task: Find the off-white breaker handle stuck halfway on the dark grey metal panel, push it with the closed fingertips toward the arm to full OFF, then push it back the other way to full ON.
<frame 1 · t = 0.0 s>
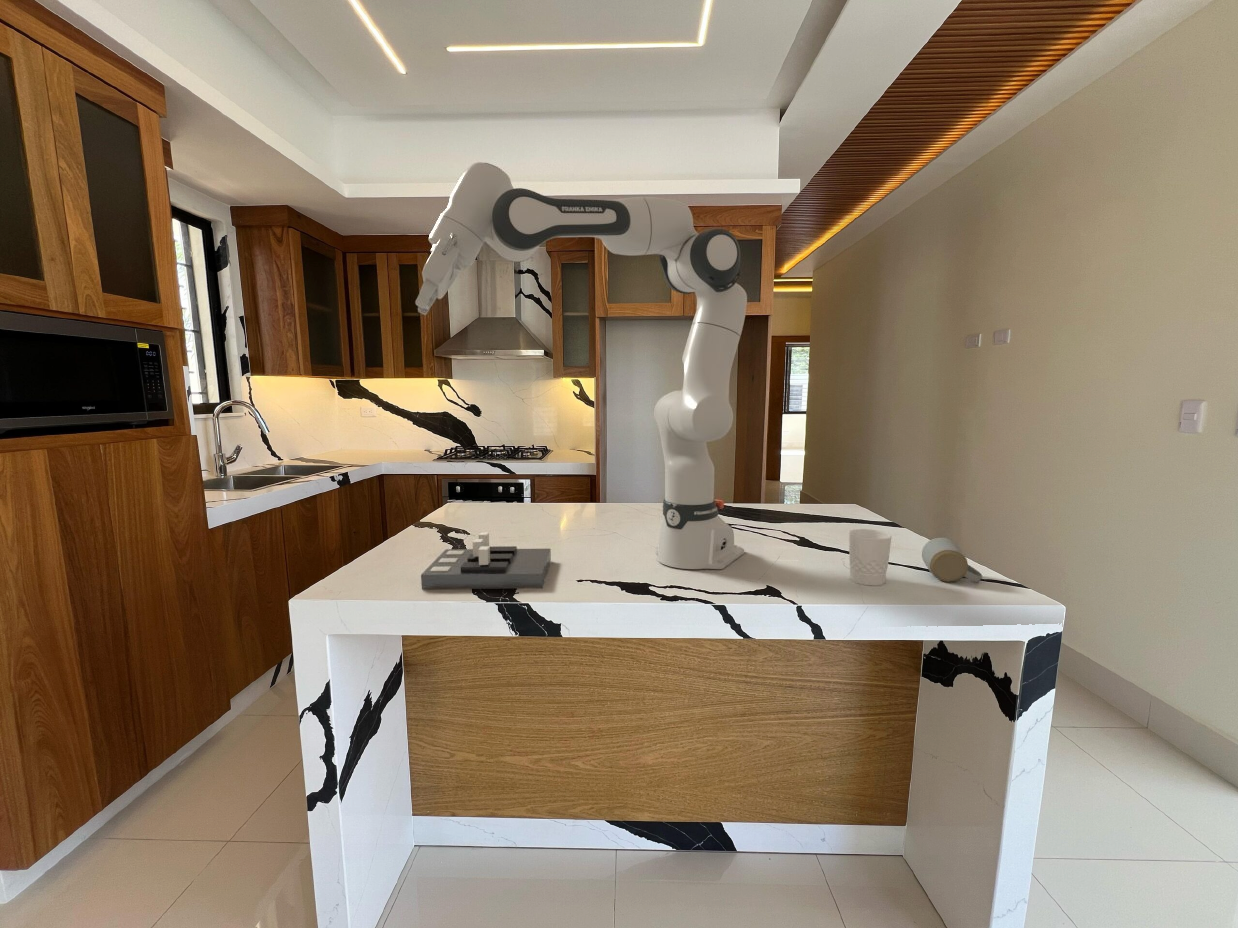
hand: (420, 310, 104), 54 cm above the countertop, tool tilted 30°, fingers open, 8 cm apart
tripped breaker: (484, 555, 113), point 6 cm above the countertop, slide at 0.0 cm
breaker panel: (491, 574, 119), on the countertop
breaker back: (483, 540, 123), point 6 cm above the countertop, slide at 2.5 cm
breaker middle: (478, 547, 118), point 6 cm above the countertop, slide at 2.5 cm
white cup: (867, 581, 115), on the countertop
ceramic mug: (950, 578, 117), on the countertop
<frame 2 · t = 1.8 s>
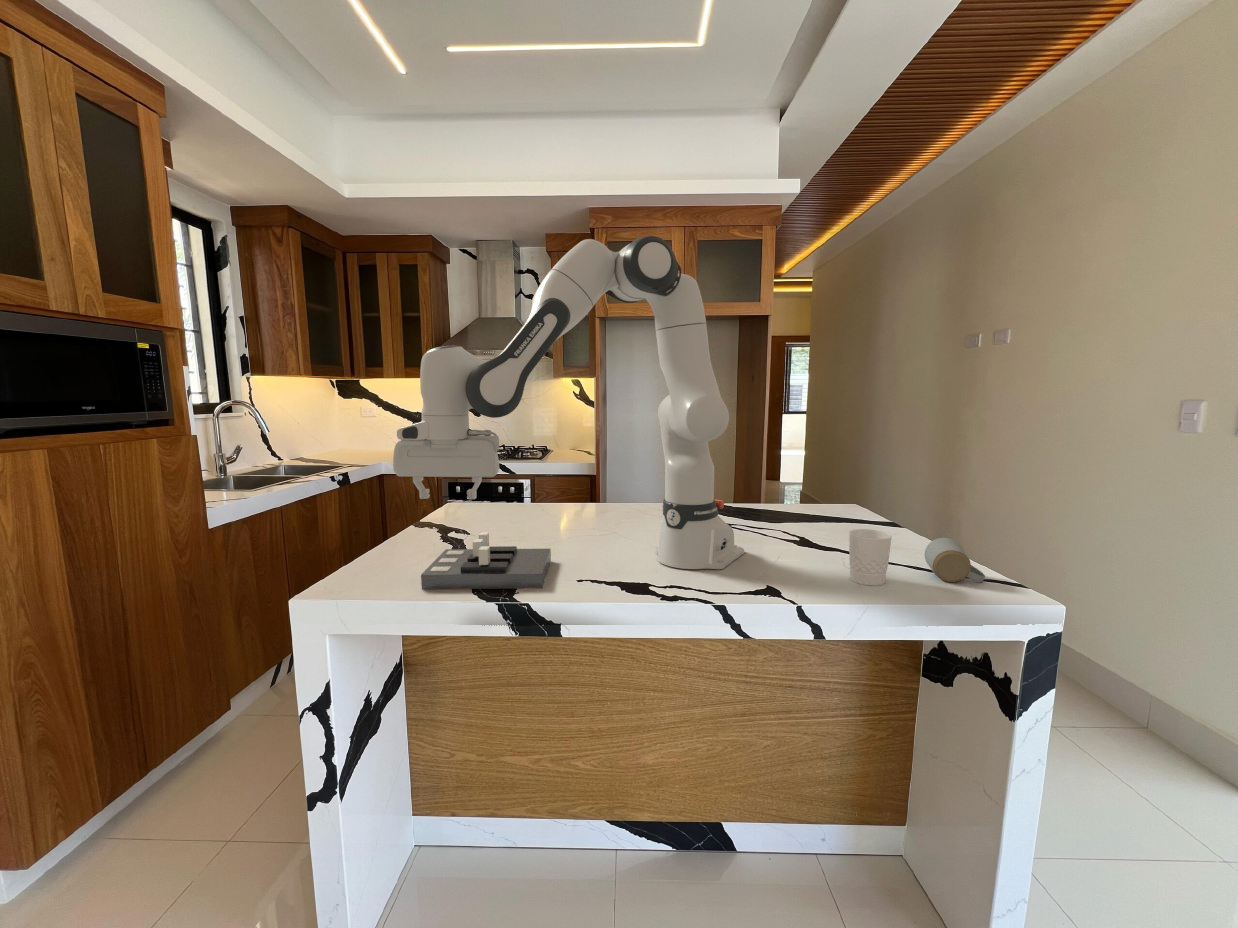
hand: (448, 498, 111), 18 cm above the countertop, tool pointing down, fingers open, 8 cm apart
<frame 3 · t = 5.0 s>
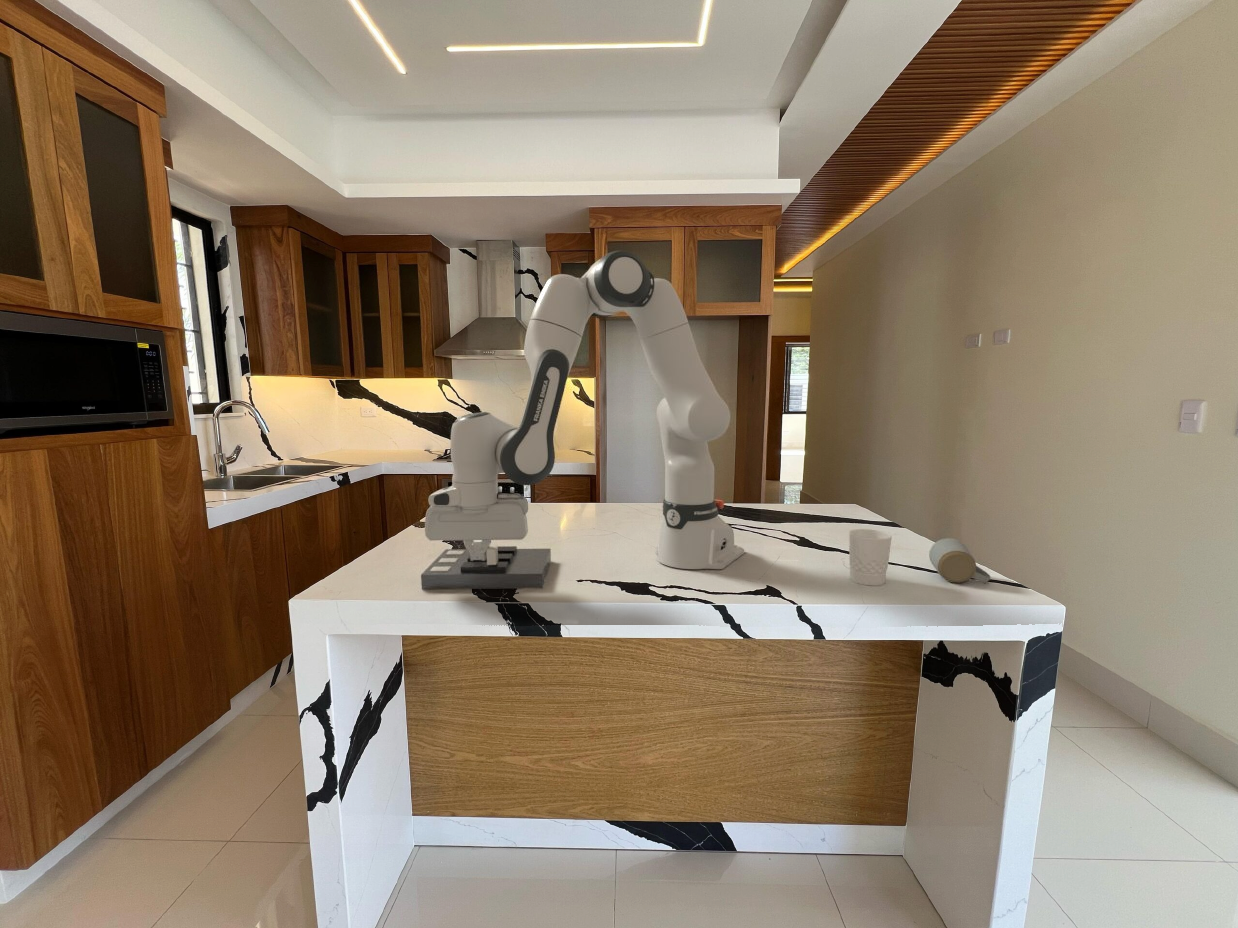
hand: (478, 560, 113), 5 cm above the countertop, tool pointing down, fingers closed
tripped breaker: (492, 555, 113), point 6 cm above the countertop, slide at -1.6 cm, touching gripper
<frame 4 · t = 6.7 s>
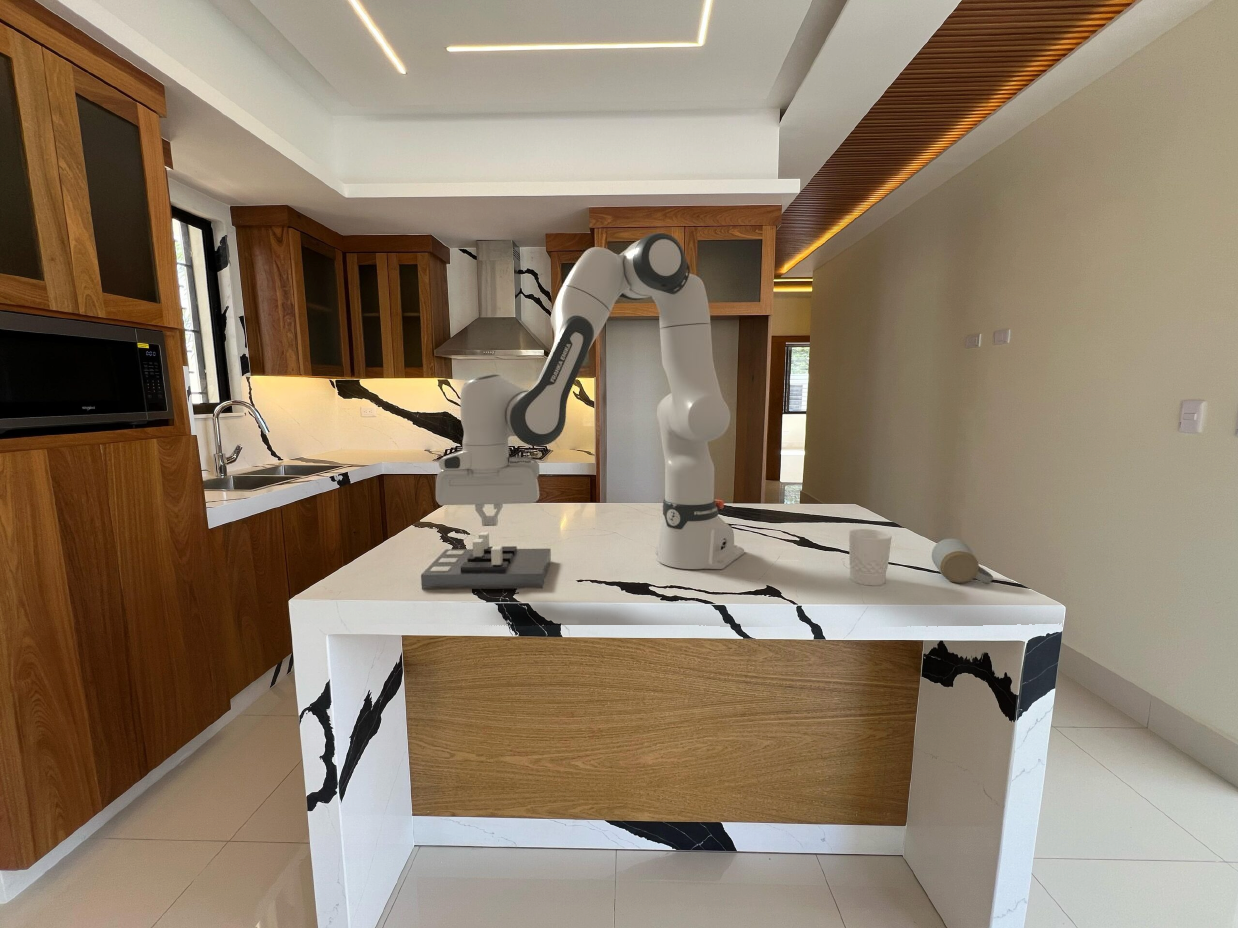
hand: (490, 525, 112), 12 cm above the countertop, tool pointing down, fingers closed
tripped breaker: (496, 555, 113), point 6 cm above the countertop, slide at -2.6 cm
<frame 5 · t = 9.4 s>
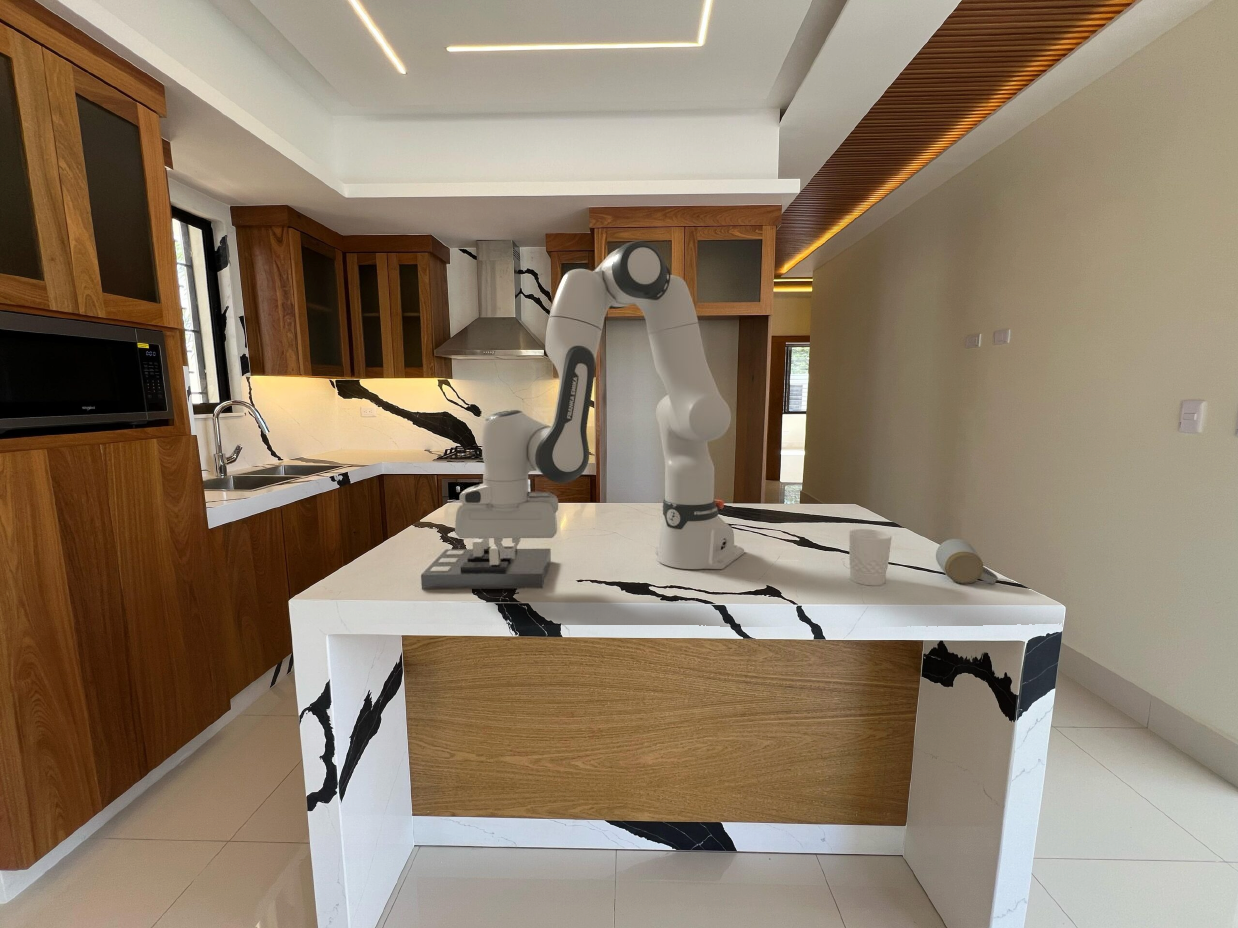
hand: (507, 558, 113), 5 cm above the countertop, tool pointing down, fingers closed
tripped breaker: (495, 555, 113), point 6 cm above the countertop, slide at -2.2 cm, touching gripper
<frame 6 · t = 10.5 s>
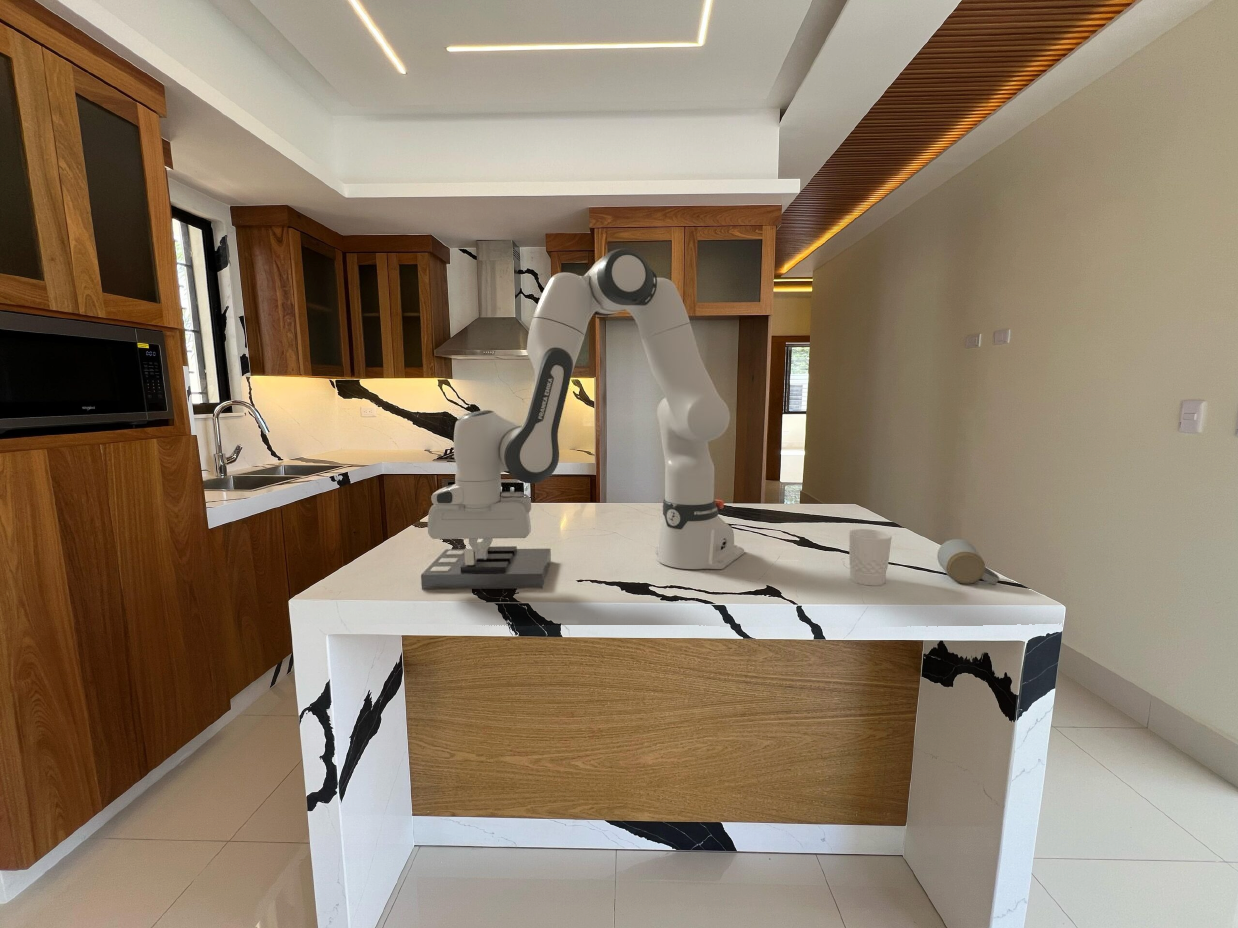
hand: (481, 558, 112), 5 cm above the countertop, tool pointing down, fingers closed
tripped breaker: (470, 555, 112), point 6 cm above the countertop, slide at 2.8 cm, touching gripper
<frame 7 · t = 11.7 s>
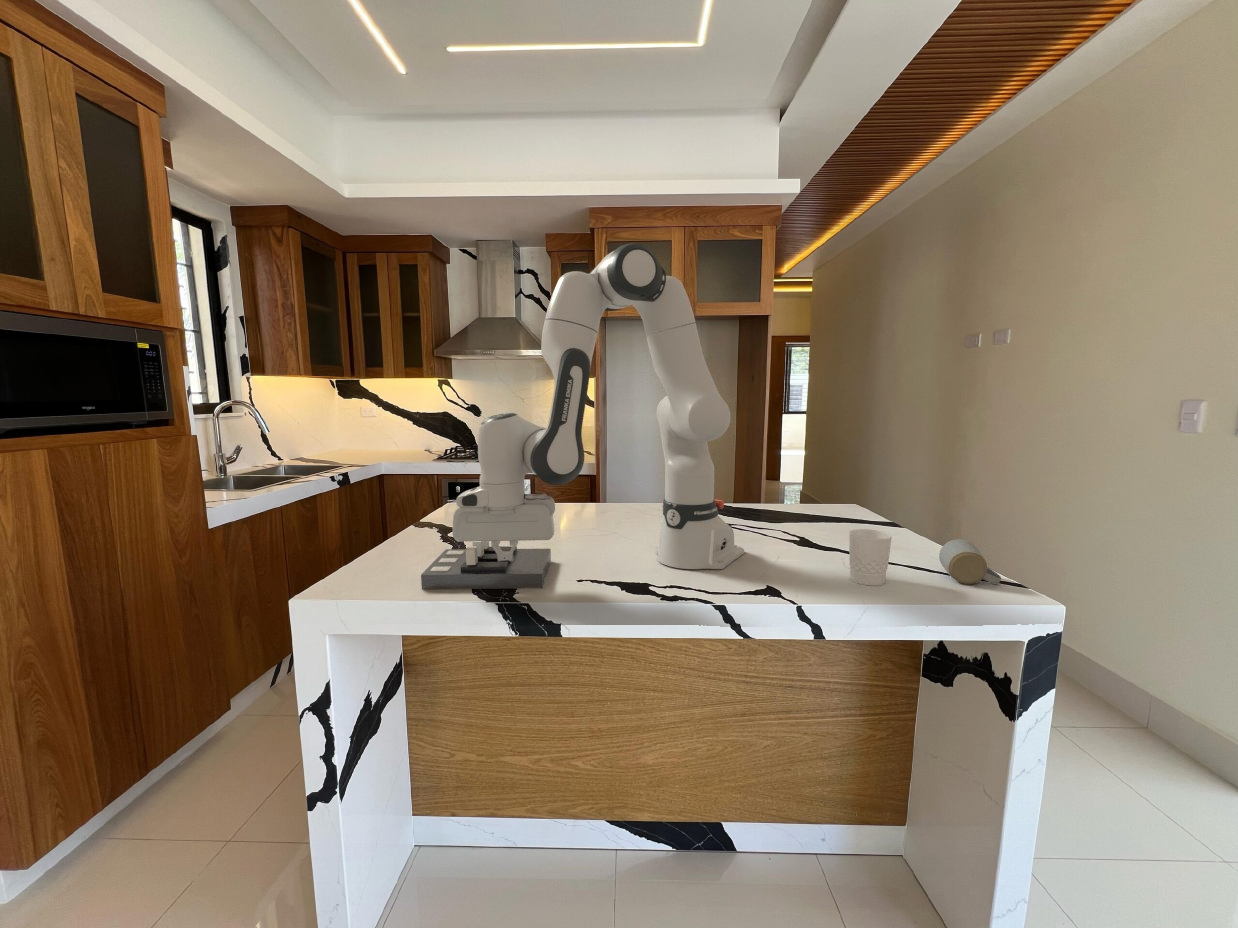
hand: (505, 560, 113), 5 cm above the countertop, tool pointing down, fingers closed
tripped breaker: (471, 555, 112), point 6 cm above the countertop, slide at 2.6 cm
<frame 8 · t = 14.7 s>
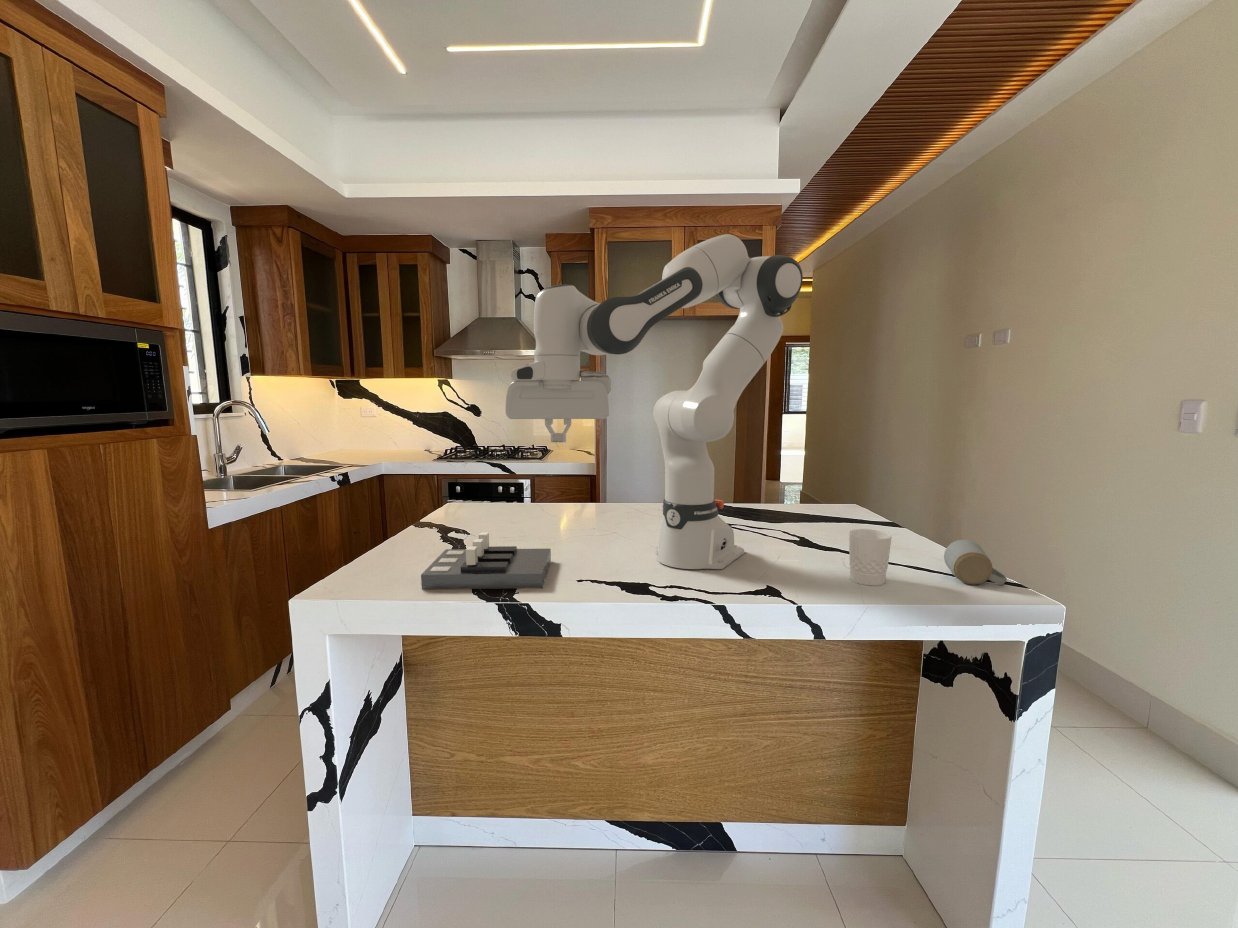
hand: (558, 442, 109), 29 cm above the countertop, tool pointing down, fingers closed
at the end: tripped breaker slide at 2.6 cm; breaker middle slide at 2.5 cm; breaker back slide at 2.5 cm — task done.
